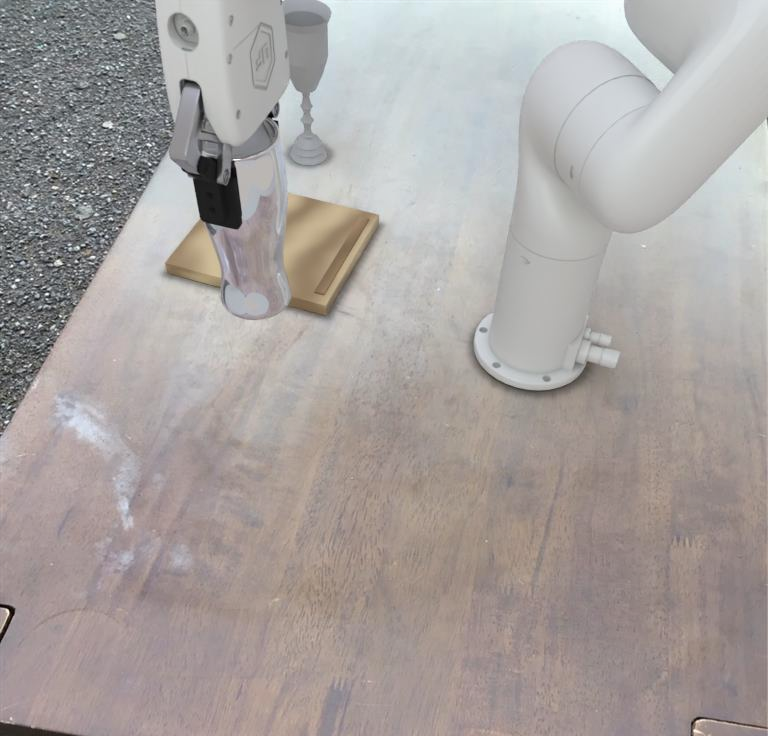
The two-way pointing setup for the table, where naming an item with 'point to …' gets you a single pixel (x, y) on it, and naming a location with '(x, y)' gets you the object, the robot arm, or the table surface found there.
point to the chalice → (307, 67)
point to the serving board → (294, 251)
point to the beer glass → (254, 227)
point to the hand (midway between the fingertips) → (242, 192)
